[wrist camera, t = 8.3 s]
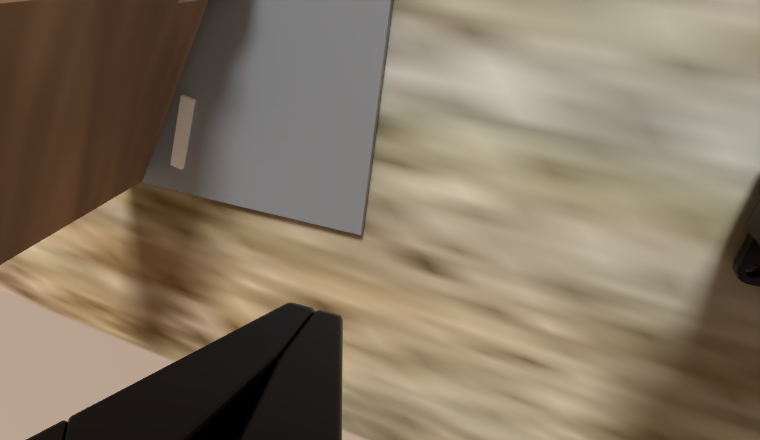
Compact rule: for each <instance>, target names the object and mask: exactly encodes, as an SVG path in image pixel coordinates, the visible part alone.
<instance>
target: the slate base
mask: <svg viewBox="0 0 760 440" xmlns="http://www.w3.org/2000/svg"><path fill="white" fill-rule="evenodd" d="M392 8H393V0H208V3H207V6H206V9H205V11H204V14H203V17H202V19H201V22H200V25H199V28H198V30H197V33H196V36H195V39H194V41H193V44H192V47H191V50H190V52H189V55H188V58H187V61H186V63H185V66H184V69H183V71H182V74H181V77H180V80H179V82H178V85H177V88H176V91H175V93H174V96H173V99H172V102H171V104H170V107H169V110H168V113H167V115H166V118H165V121H164V123H163V126H162V129H161V132H160V134H159V137H158V140H157V143H156V145H155V148H154V151H153V154H152V156H151V159H150V162H149V165H148V167H147V170H146V173H145V175H144V178H143V181H141V182H140V183H144V184H148V185H152V186H156V187H161V188H165V189H169V190H173V191H177V192H182V193H186V194H190V195H194V196H198V197H203V198H207V199H211V200H215V201H219V202H224V203H228V204H232V205H236V206H240V207H245V208H249V209H253V210H257V211H261V212H265V213H270V214H274V215H278V216H282V217H286V218H291V219H295V220H299V221H303V222H307V223H312V224H316V225H320V226H324V227H328V228H333V229H337V230H341V231H345V232H349V233H353V234H358V235H361V234H362V232H363V231H364V223H365V216H366V208H367V200H368V193H369V185H370V177H371V170H372V162H373V154H374V146H375V139H376V131H377V123H378V116H379V108H380V100H381V93H382V85H383V77H384V69H385V62H386V54H387V46H388V39H389V31H390V23H391V15H392Z"/></svg>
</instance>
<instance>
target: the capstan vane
mask: <svg viewBox="0 0 760 440" xmlns="http://www.w3.org/2000/svg"><path fill="white" fill-rule="evenodd" d="M207 3H208V0H0V265H1V264H2V263H4V262H6V261H7V260H9V259H11V258H12V257H14V256H16V255H18V254H19V253H21V252H23V251H24V250H26V249H28V248H29V247H31V246H33V245H34V244H36V243H38V242H40V241H41V240H43V239H45V238H46V237H48V236H50V235H51V234H53V233H55V232H57V231H58V230H60V229H62V228H63V227H65V226H67V225H68V224H70V223H72V222H73V221H75V220H77V219H79V218H80V217H82V216H84V215H85V214H87V213H89V212H90V211H92V210H94V209H95V208H97V207H99V206H101V205H102V204H104V203H106V202H107V201H109V200H111V199H112V198H114V197H116V196H118V195H119V194H121V193H123V192H124V191H126V190H128V189H129V188H131V187H133V186H134V185H136V184H138V183H140V182H141V181H143V178H144V175H145V173H146V170H147V167H148V165H149V162H150V159H151V156H152V154H153V151H154V148H155V145H156V143H157V140H158V137H159V134H160V132H161V129H162V126H163V123H164V121H165V118H166V115H167V113H168V110H169V107H170V104H171V102H172V99H173V96H174V93H175V91H176V88H177V85H178V82H179V80H180V77H181V74H182V71H183V69H184V66H185V63H186V61H187V58H188V55H189V52H190V50H191V47H192V44H193V41H194V39H195V36H196V33H197V30H198V28H199V25H200V22H201V19H202V17H203V14H204V11H205V9H206V6H207Z"/></svg>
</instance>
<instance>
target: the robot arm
mask: <svg viewBox="0 0 760 440" xmlns="http://www.w3.org/2000/svg"><path fill="white" fill-rule="evenodd" d="M747 228H748V230H749V234H748V236H747V238H746V240H745V241H744V243H743V245H742V247H741V249H740V251H739V253H738V255H737V257H736V259H735V261H734V263H733V270H734V272H735V274H736V275H737V277H738V278H739V279H740V280H741V281H742V282H744V283H747V284H750V285H755V286H759V287H760V200H759V202H758V204H757V206H756V208H755V210H754V211H753V213H752V215H751V217H750V219H749V221H748V223H747ZM751 265H759V266H758V268H757V269H756V270H754V271H752V272H746V269H747V268H748V267H749V266H751ZM342 339H343V320H342V317H341V316H340V315H337V314H334V313H330V312H326V311H322V310H318V311H314V309H313V308H311V307H307V306H303V305H300V304H296V303H287V304H285V305H283V306H281V307H279V308H277V309H275V310H273V311H271V312H269V313H268V314H266V315H264V316H262V317H260V318H258V319H256V320H254V321H252V322H250V323H248V324H247V325H245V326H243V327H241V328H239V329H237V330H235V331H233V332H231V333H229V334H227V335H226V336H224V337H222V338H220V339H218V340H216V341H214V342H212V343H210V344H208V345H206V346H205V347H203V348H201V349H199V350H197V351H195V352H193V353H191V354H189V355H187V356H185V357H184V358H182V359H180V360H178V361H176V362H174V363H172V364H170V365H168V366H166V367H165V368H163V369H161V370H159V371H157V372H155V373H153V374H151V375H149V376H147V377H145V378H143V379H142V380H140V381H138V382H136V383H134V384H132V385H130V386H129V387H126V388H125V389H123V390H121V391H119V392H117V393H115V394H113V395H111V396H109V397H107V398H105V399H103V400H102V401H100V402H98V403H96V404H94V405H92V406H90V407H88V408H86V409H85V410H82V411H81V412H79V413H77V414H75V415H73V416H71V417H70V418H69V421H68V422H66V421H61V422H59V423H57V424H56V425H53V426H51V427H50V428H48V429H46V430H44V431H42V432H40V433H38V434H36V435H34V436H32V437H30V438H29V439H26V440H342Z"/></svg>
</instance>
